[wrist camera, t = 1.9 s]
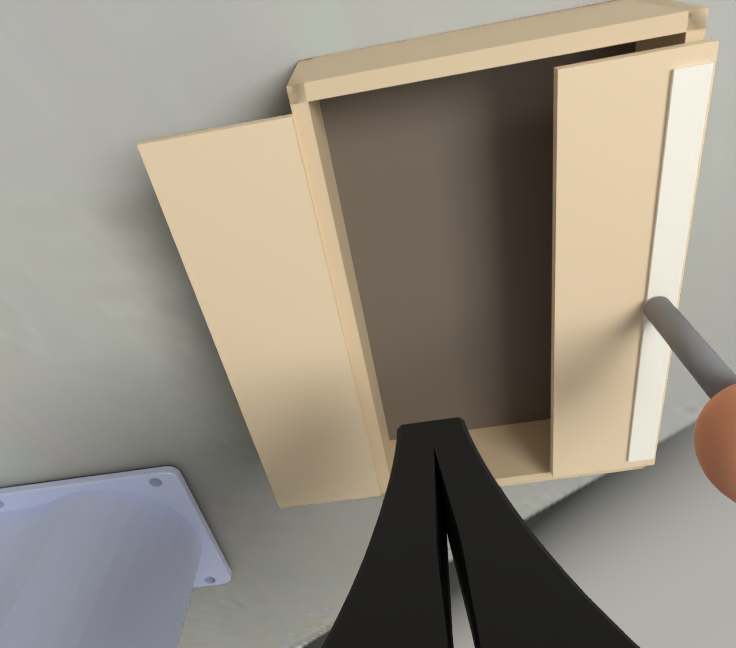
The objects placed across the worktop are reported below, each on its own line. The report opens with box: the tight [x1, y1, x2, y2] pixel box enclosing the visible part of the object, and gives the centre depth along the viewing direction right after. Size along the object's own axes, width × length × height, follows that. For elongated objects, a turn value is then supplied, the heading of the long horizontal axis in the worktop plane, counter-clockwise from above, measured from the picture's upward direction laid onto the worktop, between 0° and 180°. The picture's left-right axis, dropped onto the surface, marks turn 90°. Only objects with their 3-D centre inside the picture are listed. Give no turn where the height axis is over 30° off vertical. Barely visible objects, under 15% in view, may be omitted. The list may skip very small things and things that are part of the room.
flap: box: [550, 38, 736, 502], centre depth 13 cm, size 4×13×7 cm, turn 10°
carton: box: [137, 0, 709, 508], centre depth 17 cm, size 13×14×4 cm
